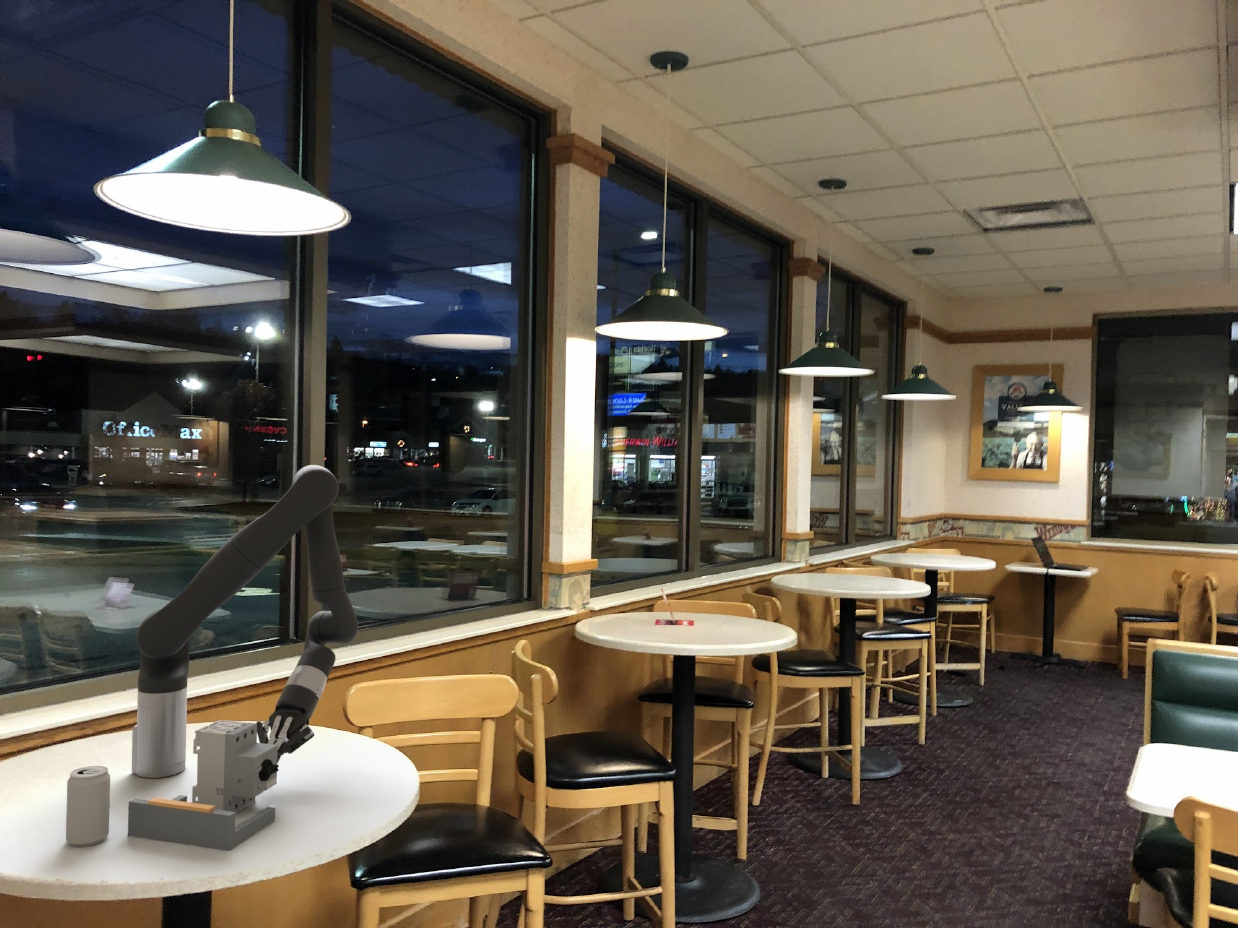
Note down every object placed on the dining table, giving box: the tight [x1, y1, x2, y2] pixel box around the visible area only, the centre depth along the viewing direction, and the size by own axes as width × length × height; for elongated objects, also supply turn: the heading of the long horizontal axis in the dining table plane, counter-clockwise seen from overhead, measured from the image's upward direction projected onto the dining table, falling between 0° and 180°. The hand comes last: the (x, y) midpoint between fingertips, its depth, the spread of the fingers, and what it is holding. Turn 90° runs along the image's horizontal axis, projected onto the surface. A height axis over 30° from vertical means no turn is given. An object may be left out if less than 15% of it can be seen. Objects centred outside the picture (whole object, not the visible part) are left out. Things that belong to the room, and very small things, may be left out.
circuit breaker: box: [191, 719, 280, 814], centre depth 174 cm, size 8×14×15 cm, turn 78°
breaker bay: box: [127, 794, 276, 852], centre depth 165 cm, size 20×13×7 cm, turn 77°
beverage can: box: [65, 765, 111, 848], centre depth 158 cm, size 6×6×12 cm
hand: (265, 769), depth 183 cm, fingers closed
